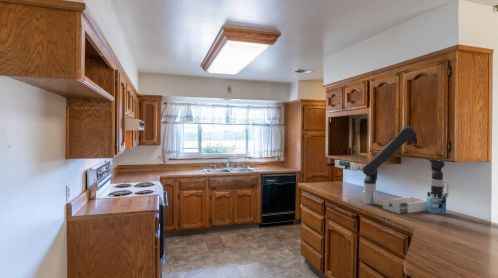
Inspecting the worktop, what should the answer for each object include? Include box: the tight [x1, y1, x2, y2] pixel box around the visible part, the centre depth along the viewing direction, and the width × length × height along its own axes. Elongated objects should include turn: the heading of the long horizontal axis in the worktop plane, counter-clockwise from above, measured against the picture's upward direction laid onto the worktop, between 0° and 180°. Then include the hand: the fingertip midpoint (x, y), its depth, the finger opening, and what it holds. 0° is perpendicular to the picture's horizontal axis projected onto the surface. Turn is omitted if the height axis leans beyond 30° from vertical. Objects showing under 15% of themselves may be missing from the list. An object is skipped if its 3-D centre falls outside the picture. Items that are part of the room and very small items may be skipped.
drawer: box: [382, 199, 407, 215], centre depth 225 cm, size 15×23×7 cm, turn 111°
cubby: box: [391, 196, 427, 214], centre depth 229 cm, size 15×22×7 cm
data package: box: [426, 195, 447, 214], centre depth 219 cm, size 12×4×12 cm, turn 91°
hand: (436, 207), depth 219 cm, fingers closed on data package, 5 cm apart
